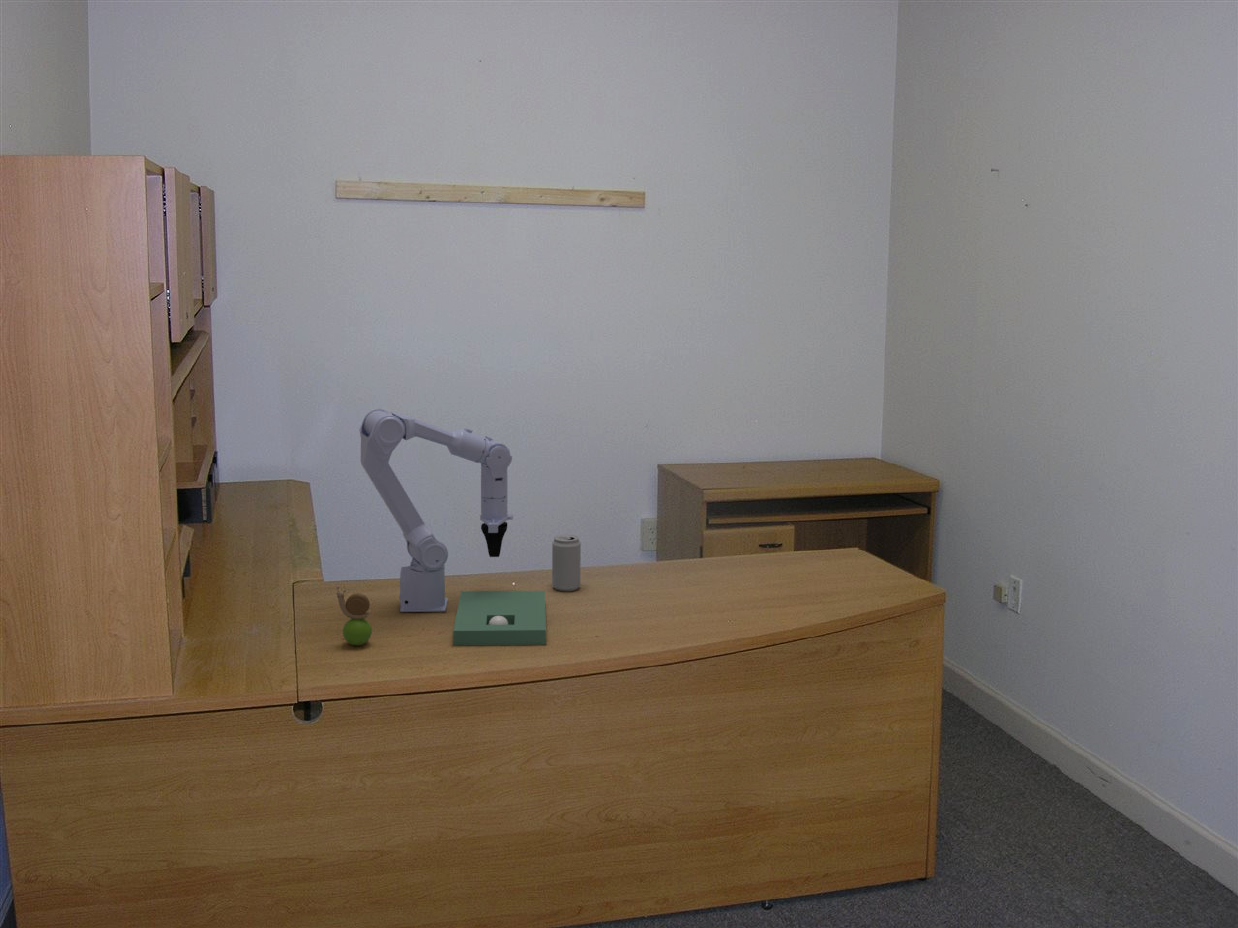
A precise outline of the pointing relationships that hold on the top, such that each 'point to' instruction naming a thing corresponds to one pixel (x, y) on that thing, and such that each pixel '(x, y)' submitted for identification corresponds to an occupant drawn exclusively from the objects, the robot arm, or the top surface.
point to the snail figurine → (355, 618)
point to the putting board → (513, 605)
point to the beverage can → (566, 562)
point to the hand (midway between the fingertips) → (494, 556)
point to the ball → (498, 621)
